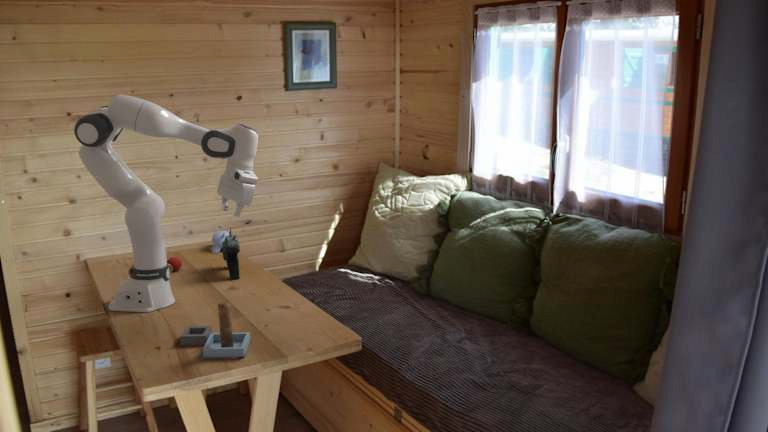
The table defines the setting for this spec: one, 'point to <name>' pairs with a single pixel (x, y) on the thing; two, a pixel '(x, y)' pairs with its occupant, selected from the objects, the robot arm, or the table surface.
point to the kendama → (174, 264)
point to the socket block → (195, 335)
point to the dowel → (225, 324)
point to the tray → (215, 350)
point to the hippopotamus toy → (218, 240)
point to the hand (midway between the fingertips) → (230, 213)
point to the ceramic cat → (231, 255)
